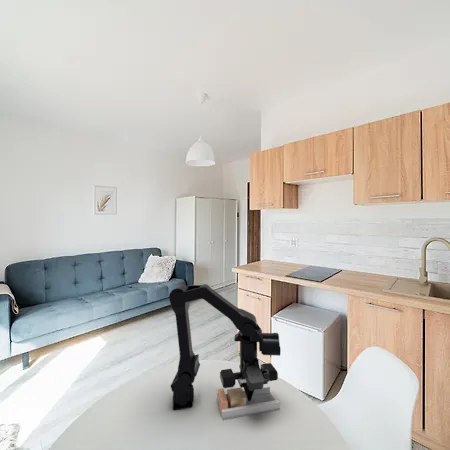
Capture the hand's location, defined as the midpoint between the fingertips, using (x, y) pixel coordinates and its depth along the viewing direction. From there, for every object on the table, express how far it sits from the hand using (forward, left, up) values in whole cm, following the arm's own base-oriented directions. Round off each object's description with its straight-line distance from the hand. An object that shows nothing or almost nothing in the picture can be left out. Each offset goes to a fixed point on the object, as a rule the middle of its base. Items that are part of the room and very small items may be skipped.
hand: (248, 400), depth 80 cm
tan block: (-4, 0, -1) cm, 4 cm away
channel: (-1, 0, -2) cm, 2 cm away
